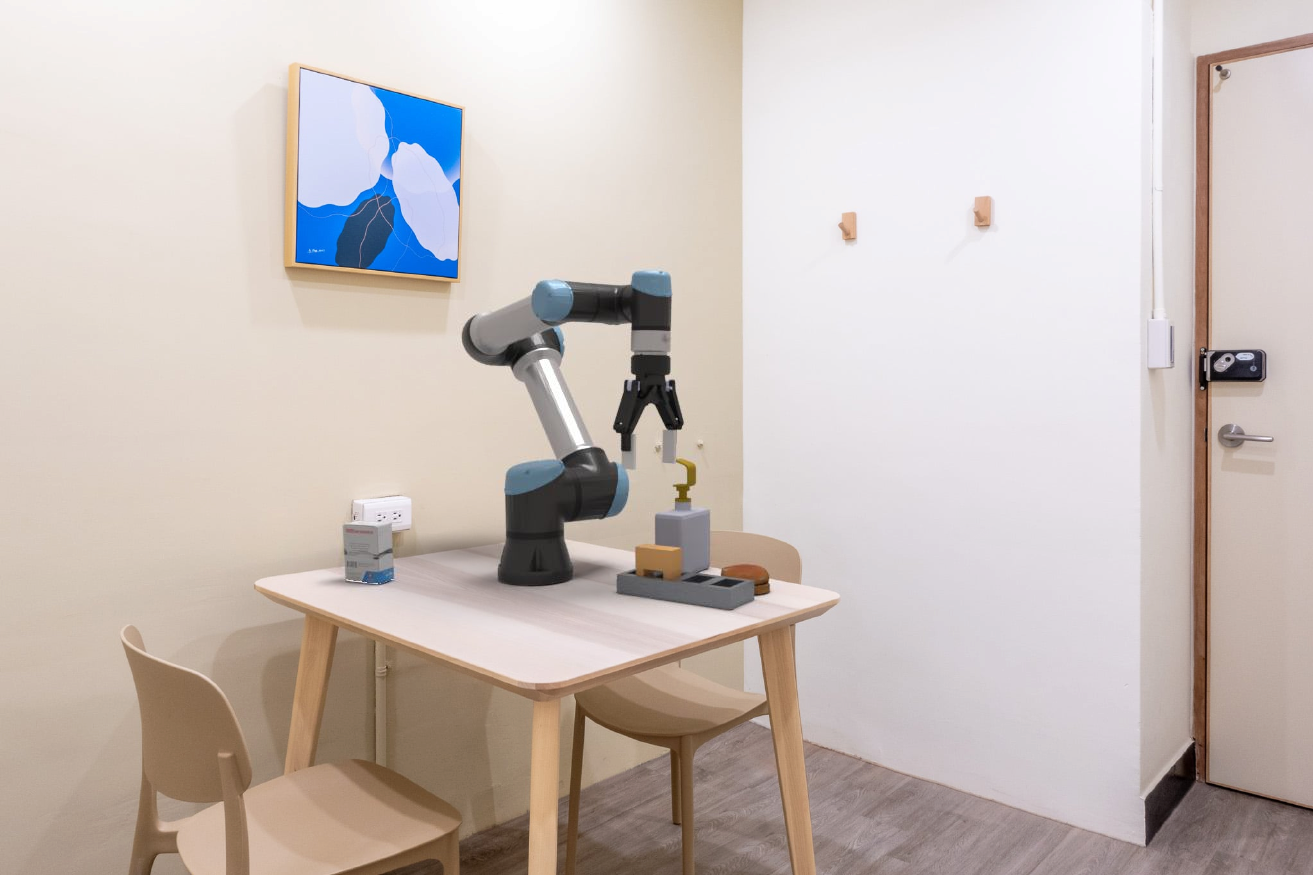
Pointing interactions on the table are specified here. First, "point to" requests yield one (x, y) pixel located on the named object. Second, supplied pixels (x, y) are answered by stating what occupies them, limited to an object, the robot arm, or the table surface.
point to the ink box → (368, 551)
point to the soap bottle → (686, 526)
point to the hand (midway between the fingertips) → (649, 466)
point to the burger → (750, 576)
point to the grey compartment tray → (688, 588)
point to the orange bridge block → (658, 560)
